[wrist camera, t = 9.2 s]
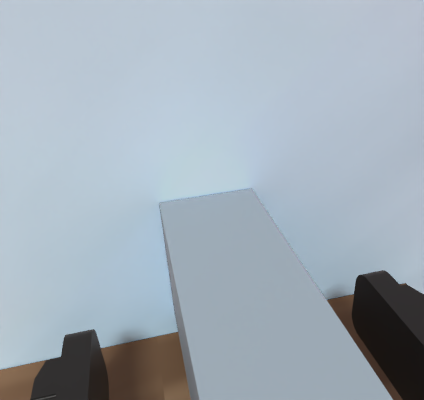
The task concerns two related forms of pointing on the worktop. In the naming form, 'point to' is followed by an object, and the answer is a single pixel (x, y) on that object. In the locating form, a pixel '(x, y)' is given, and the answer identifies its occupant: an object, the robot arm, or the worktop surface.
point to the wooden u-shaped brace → (160, 366)
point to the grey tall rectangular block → (254, 309)
